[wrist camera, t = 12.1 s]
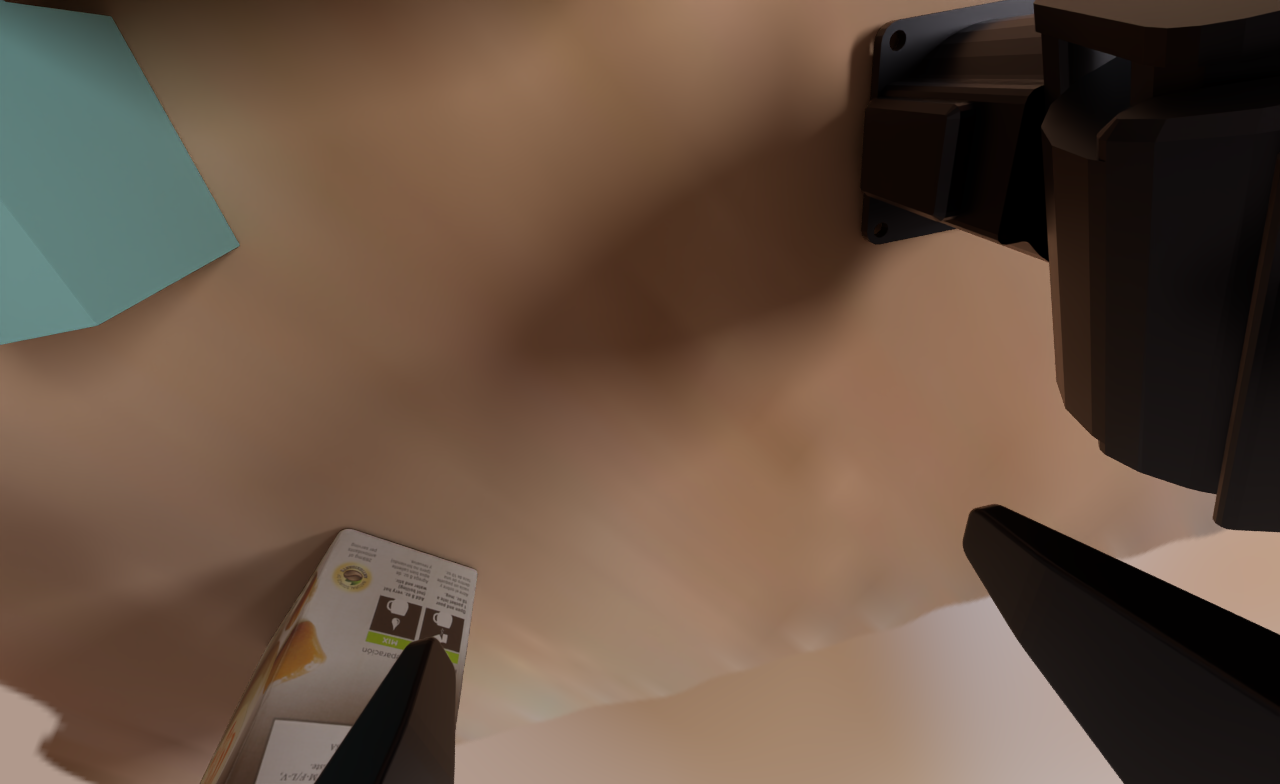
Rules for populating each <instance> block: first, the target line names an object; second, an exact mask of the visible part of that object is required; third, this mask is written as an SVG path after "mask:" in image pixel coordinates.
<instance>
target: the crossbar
mask: <svg viewBox="0 0 1280 784" xmlns="http://www.w3.org/2000/svg"><path fill="white" fill-rule="evenodd" d="M238 246H240V245H239V243H238V241H237V239H236V238H235V236H234V234H233V232H232V230H231V229H230V227H229V225H228V223H227V222H226V220H225V218H224V216H223V214H222V213H221V211H220V209H219V207H218V206H217V204H216V202H215V200H214V198H213V197H212V195H211V193H210V191H209V189H208V188H207V186H206V184H205V182H204V181H203V179H202V177H201V175H200V173H199V172H198V170H197V168H196V166H195V165H194V163H193V161H192V159H191V157H190V156H189V154H188V152H187V150H186V149H185V147H184V145H183V143H182V141H181V140H180V138H179V136H178V134H177V132H176V131H175V129H174V127H173V125H172V124H171V122H170V120H169V118H168V116H167V115H166V113H165V111H164V109H163V108H162V106H161V104H160V102H159V100H158V99H157V97H156V95H155V93H154V92H153V90H152V88H151V86H150V84H149V83H148V81H147V79H146V77H145V76H144V74H143V72H142V70H141V68H140V67H139V65H138V63H137V61H136V59H135V58H134V56H133V54H132V52H131V51H130V49H129V47H128V45H127V43H126V42H125V40H124V38H123V36H122V35H121V33H120V31H119V29H118V27H117V26H116V24H115V22H114V20H113V19H112V17H111V16H105V15H98V14H91V13H83V12H76V11H69V10H61V9H54V8H47V7H39V6H32V5H25V4H17V3H10V2H5V1H4V0H0V345H2V344H7V343H12V342H17V341H22V340H27V339H32V338H37V337H42V336H48V335H53V334H58V333H63V332H68V331H73V330H78V329H83V328H88V327H93V326H98V325H99V324H101V323H103V322H105V321H107V320H108V319H110V318H112V317H114V316H116V315H117V314H119V313H121V312H123V311H124V310H126V309H128V308H130V307H132V306H133V305H135V304H137V303H139V302H140V301H142V300H144V299H146V298H148V297H149V296H151V295H153V294H155V293H156V292H158V291H160V290H162V289H164V288H165V287H167V286H169V285H171V284H173V283H174V282H176V281H178V280H180V279H181V278H183V277H185V276H187V275H189V274H190V273H192V272H194V271H196V270H197V269H199V268H201V267H203V266H205V265H206V264H208V263H210V262H212V261H213V260H215V259H217V258H219V257H221V256H222V255H224V254H226V253H228V252H229V251H231V250H233V249H235V248H237V247H238Z"/></svg>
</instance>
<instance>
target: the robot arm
mask: <svg viewBox="0 0 1280 784" xmlns="http://www.w3.org/2000/svg"><path fill="white" fill-rule="evenodd" d="M894 32H896V33H897V34H898V39H899V40H898V43H897V46H896V47H895V48H894V50H892V49H891V48H890V43H889V41H890V38H891V36H892V34H893V33H894ZM860 188H861V190H862V191H863V192H864V198H863V213H862V227H861V232H862V236H863V238H864V239H865V240H867V241H869V242H871V243H873V244H884V243H889V242H893V241H898V240H903V239H908V238H913V237H918V236H923V235H927V234H932V233H937V232H942V231H947V230H952V229H960V230H962V231H965V232H968V233H971V234H973V235H976V236H979V237H981V238H984V239H987V240H989V241H992V242H995V243H997V244H1000V245H1003V246H1006V247H1008V248H1011V249H1014V250H1016V251H1019V252H1022V253H1024V254H1027V255H1030V256H1033V257H1035V258H1038V259H1041V260H1043V261H1046V262H1049V267H1050V283H1051V300H1052V316H1053V332H1054V349H1055V365H1056V381H1057V384H1058V387H1059V390H1060V393H1061V396H1062V400H1063V403H1064V406H1065V408H1066V409H1067V410H1068V411H1069V413H1070V414H1071V415H1072V416H1073V417H1074V418H1075V419H1076V420H1077V421H1078V422H1079V423H1080V424H1081V425H1082V426H1083V427H1084V428H1085V429H1086V430H1087V431H1088V432H1089V433H1090V434H1091V435H1092V436H1093V437H1095V438H1096V439H1098V444H1099V448H1100V450H1101V451H1102V452H1103V453H1104V454H1105V455H1107V456H1109V457H1111V458H1113V459H1115V460H1117V461H1119V462H1121V463H1123V464H1124V465H1126V466H1128V467H1130V468H1132V469H1134V470H1136V471H1138V472H1141V473H1143V474H1146V475H1149V476H1152V477H1155V478H1158V479H1161V480H1164V481H1167V482H1170V483H1173V484H1176V485H1180V486H1183V487H1186V488H1189V489H1193V490H1197V491H1201V492H1207V493H1212V494H1217V496H1216V502H1215V507H1214V513H1213V520H1214V522H1215V523H1216V524H1218V525H1219V526H1221V527H1223V528H1226V529H1231V530H1245V531H1266V532H1280V0H1003V1H998V2H992V3H987V4H982V5H976V6H971V7H965V8H960V9H954V10H949V11H943V12H938V13H932V14H927V15H921V16H916V17H910V18H905V19H900V20H894V21H890V22H888V23H886V24H885V25H884V26H883V27H881V28H880V30H879V32H878V33H877V35H876V38H875V42H874V53H873V67H872V82H871V96H870V103H869V104H868V106H867V107H866V109H865V122H864V138H863V153H862V168H861V184H860ZM880 223H882V227H881V230H880V231H879V232H878V233H877V234H874V230H875V227H876V226H877V225H878V224H880ZM963 549H964V552H965V554H966V556H967V558H968V560H969V562H970V563H971V565H972V566H973V568H974V570H975V571H976V573H977V575H978V576H979V578H980V580H981V581H982V583H983V585H984V586H985V588H986V590H987V591H988V593H989V594H990V596H991V598H992V599H993V601H994V603H995V604H996V606H997V608H998V609H999V611H1000V613H1001V614H1002V616H1003V618H1004V619H1005V621H1006V622H1007V624H1008V626H1009V627H1010V629H1011V630H1012V632H1013V633H1014V635H1015V637H1016V638H1017V640H1018V641H1019V643H1020V644H1021V645H1022V647H1023V648H1024V650H1025V651H1026V652H1027V654H1028V655H1029V657H1030V658H1031V659H1032V661H1033V662H1034V663H1035V665H1036V666H1037V667H1038V669H1039V670H1040V671H1041V673H1042V674H1043V675H1044V677H1045V678H1046V679H1047V681H1048V682H1049V683H1050V685H1051V686H1052V688H1053V689H1054V690H1055V691H1056V693H1057V694H1058V696H1059V697H1060V698H1061V700H1062V701H1063V702H1064V704H1065V705H1066V706H1067V708H1068V709H1069V710H1070V712H1071V713H1072V714H1073V716H1074V717H1075V718H1076V720H1077V721H1078V722H1079V724H1080V725H1081V726H1082V728H1083V729H1084V731H1085V732H1086V733H1087V735H1088V736H1089V737H1090V739H1091V740H1092V741H1093V743H1094V744H1095V745H1096V747H1097V748H1098V749H1099V751H1100V752H1101V753H1102V755H1103V756H1104V758H1105V759H1106V760H1107V762H1108V763H1109V764H1110V766H1111V767H1112V768H1113V769H1114V771H1115V772H1116V774H1117V775H1118V776H1119V778H1120V779H1121V780H1122V781H1123V783H1124V784H1280V635H1279V634H1277V633H1275V632H1273V631H1271V630H1269V629H1266V628H1264V627H1262V626H1260V625H1258V624H1256V623H1253V622H1251V621H1249V620H1247V619H1245V618H1243V617H1241V616H1238V615H1236V614H1234V613H1232V612H1230V611H1227V610H1225V609H1223V608H1221V607H1219V606H1217V605H1215V604H1213V603H1210V602H1208V601H1206V600H1204V599H1202V598H1200V597H1198V596H1195V595H1193V594H1191V593H1189V592H1187V591H1184V590H1182V589H1180V588H1178V587H1176V586H1174V585H1172V584H1170V583H1167V582H1165V581H1163V580H1161V579H1159V578H1157V577H1155V576H1152V575H1150V574H1148V573H1146V572H1144V571H1141V570H1139V569H1137V568H1135V567H1133V566H1131V565H1128V564H1127V563H1124V562H1122V561H1120V560H1118V559H1116V558H1114V557H1112V556H1109V555H1107V554H1105V553H1103V552H1101V551H1099V550H1096V549H1094V548H1092V547H1090V546H1088V545H1086V544H1084V543H1081V542H1079V541H1077V540H1075V539H1073V538H1071V537H1068V536H1066V535H1064V534H1062V533H1060V532H1058V531H1056V530H1053V529H1051V528H1049V527H1047V526H1045V525H1043V524H1041V523H1038V522H1036V521H1034V520H1032V519H1030V518H1028V517H1025V516H1023V515H1021V514H1019V513H1017V512H1015V511H1013V510H1010V509H1008V508H1006V507H1004V506H1001V505H998V504H991V505H987V506H982V507H978V508H975V509H973V510H972V511H971V512H970V514H969V517H968V521H967V525H966V529H965V533H964V537H963ZM455 713H456V673H455V668H454V665H453V663H452V661H451V660H450V658H449V656H448V655H447V653H446V651H445V650H444V648H443V646H442V645H441V643H440V641H439V640H438V639H437V638H435V637H429V638H425V639H420V640H416V641H413V642H411V643H409V644H408V645H407V646H406V647H405V648H404V650H403V651H402V653H401V654H400V656H399V657H398V659H397V660H396V662H395V663H394V665H393V666H392V668H391V669H390V671H389V672H388V674H387V675H386V677H385V678H384V680H383V681H382V683H381V684H380V685H379V687H378V688H377V690H376V691H375V693H374V694H373V696H372V697H371V699H370V700H369V702H368V703H367V705H366V706H365V708H364V709H363V711H362V712H361V714H360V715H359V717H358V718H357V720H356V721H355V723H354V724H353V726H352V727H351V729H350V730H349V732H348V733H347V735H346V736H345V738H344V739H343V741H342V742H341V744H340V745H339V747H338V748H337V750H336V751H335V753H334V754H333V756H332V757H331V759H330V760H329V762H328V763H327V765H326V766H325V768H324V769H323V771H322V772H321V774H320V775H319V777H318V778H317V780H316V781H315V782H314V784H454V769H455V768H454V767H455Z"/></svg>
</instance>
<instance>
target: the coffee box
mask: <svg viewBox="0 0 1280 784" xmlns="http://www.w3.org/2000/svg"><path fill="white" fill-rule="evenodd" d="M477 575H478V573H477V571H476V570H475V569H472V568H469V567H466V566H463V565H460V564H457V563H454V562H451V561H448V560H445V559H442V558H439V557H436V556H433V555H430V554H426V553H423V552H420V551H417V550H414V549H411V548H408V547H405V546H402V545H399V544H396V543H393V542H390V541H387V540H383V539H380V538H377V537H374V536H371V535H368V534H366V533H363V532H360V531H357V530H353V529H344V530H342V531H340V532H339V533H338V535H337V536H336V538H335V540H334V541H333V543H332V544H331V546H330V547H329V549H328V550H327V552H326V554H325V555H324V557H323V558H322V560H321V562H320V563H319V565H318V566H317V568H316V570H315V571H314V573H313V574H312V576H311V578H310V579H309V581H308V582H307V584H306V586H305V587H304V589H303V590H302V592H301V593H300V595H299V596H298V598H297V600H296V601H295V603H294V604H293V606H292V607H291V609H290V611H289V612H288V614H287V615H286V617H285V618H284V620H283V621H282V623H281V625H280V626H279V628H278V629H277V631H276V633H275V634H274V636H273V637H272V639H271V640H270V642H269V644H268V645H267V647H266V649H265V651H264V653H263V655H262V657H261V659H260V661H259V663H258V665H257V667H256V669H255V671H254V673H253V675H252V677H251V679H250V681H249V683H248V685H247V687H246V689H245V691H244V693H243V695H242V697H241V699H240V701H239V703H238V705H237V707H236V709H235V711H234V713H233V716H232V718H231V720H230V722H229V724H228V726H227V728H226V730H225V733H224V735H223V737H222V739H221V741H220V743H219V745H218V747H217V749H216V751H215V753H214V755H213V757H212V759H211V761H210V763H209V765H208V767H207V770H206V772H205V774H204V776H203V778H202V780H201V782H200V784H314V782H315V781H316V780H317V778H318V777H319V775H320V774H321V772H322V771H323V769H324V768H325V766H326V765H327V763H328V762H329V760H330V759H331V757H332V756H333V754H334V753H335V751H336V750H337V748H338V747H339V745H340V744H341V742H342V741H343V739H344V738H345V736H346V735H347V733H348V732H349V730H350V729H351V727H352V726H353V724H354V723H355V721H356V720H357V718H358V717H359V715H360V714H361V712H362V711H363V709H364V708H365V706H366V705H367V703H368V702H369V700H370V699H371V697H372V696H373V694H374V693H375V691H376V690H377V688H378V687H379V685H380V684H381V683H382V681H383V680H384V678H385V677H386V675H387V674H388V672H389V671H390V669H391V668H392V666H393V665H394V663H395V662H396V660H397V659H398V657H399V656H400V654H401V653H402V651H403V650H404V648H405V647H406V646H407V645H408V644H409V643H411V642H413V641H416V640H420V639H425V638H429V637H435V638H437V639H438V640H439V641H440V643H441V645H442V646H443V648H444V650H445V651H446V653H447V655H448V656H449V658H450V660H451V661H452V663H453V665H454V668H455V673H456V713H455V730H456V722H457V716H458V709H459V702H460V695H461V689H462V680H463V672H464V666H465V659H466V654H467V647H468V638H469V633H470V625H471V617H472V609H473V602H474V595H475V588H476V582H477Z"/></svg>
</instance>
